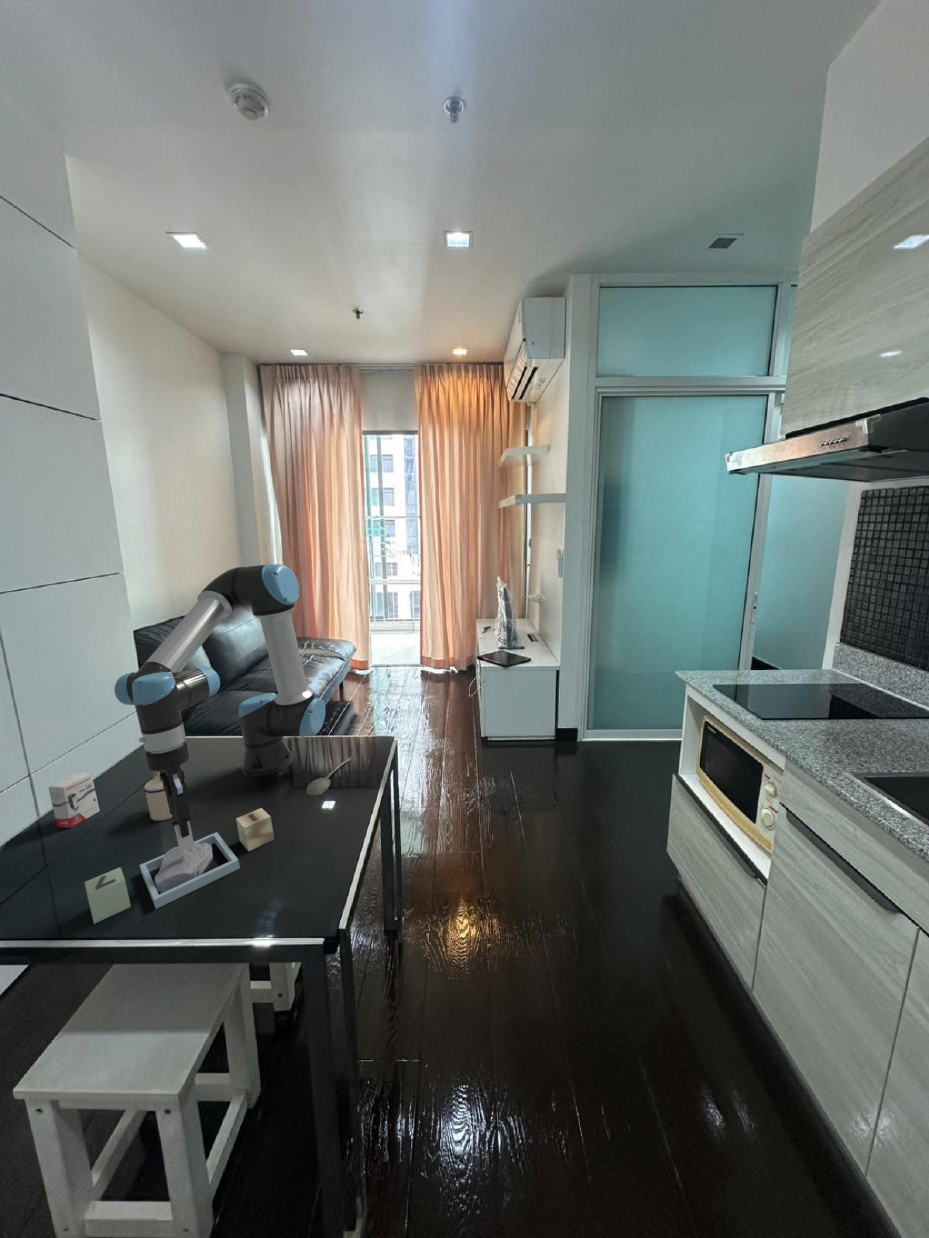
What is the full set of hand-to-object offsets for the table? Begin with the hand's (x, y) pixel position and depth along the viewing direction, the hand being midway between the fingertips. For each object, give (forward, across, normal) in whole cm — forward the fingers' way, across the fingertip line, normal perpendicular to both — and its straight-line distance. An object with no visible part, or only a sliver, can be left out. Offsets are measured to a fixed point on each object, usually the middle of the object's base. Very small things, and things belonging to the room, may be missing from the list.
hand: (186, 847), depth 107 cm
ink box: (+6, -51, -16) cm, 54 cm away
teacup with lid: (+6, -35, +2) cm, 35 cm away
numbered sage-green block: (+6, 0, -15) cm, 16 cm away
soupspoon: (+7, -15, +42) cm, 45 cm away
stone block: (+6, 0, -1) cm, 6 cm away
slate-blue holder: (+5, 0, 0) cm, 5 cm away
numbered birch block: (+6, 0, +14) cm, 15 cm away
